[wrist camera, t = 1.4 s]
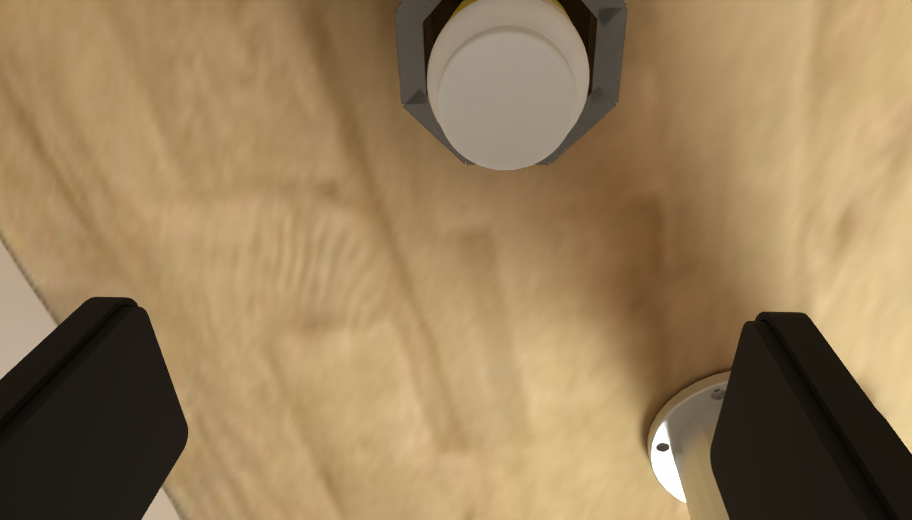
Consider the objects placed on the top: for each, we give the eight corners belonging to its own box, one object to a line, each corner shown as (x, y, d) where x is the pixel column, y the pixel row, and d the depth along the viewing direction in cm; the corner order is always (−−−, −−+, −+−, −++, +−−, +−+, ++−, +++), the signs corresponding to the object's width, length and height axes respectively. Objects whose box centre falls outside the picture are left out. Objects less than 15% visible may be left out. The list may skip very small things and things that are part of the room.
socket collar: (624, -74, 26) (635, -74, 24) (603, 144, 31) (611, 164, 29) (401, -66, 27) (388, -65, 25) (415, 144, 32) (406, 164, 30)
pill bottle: (460, 118, 31) (435, 205, 22) (434, -7, 28) (390, 28, 19) (580, 96, 30) (608, 177, 21) (564, -37, 27) (589, -16, 18)
